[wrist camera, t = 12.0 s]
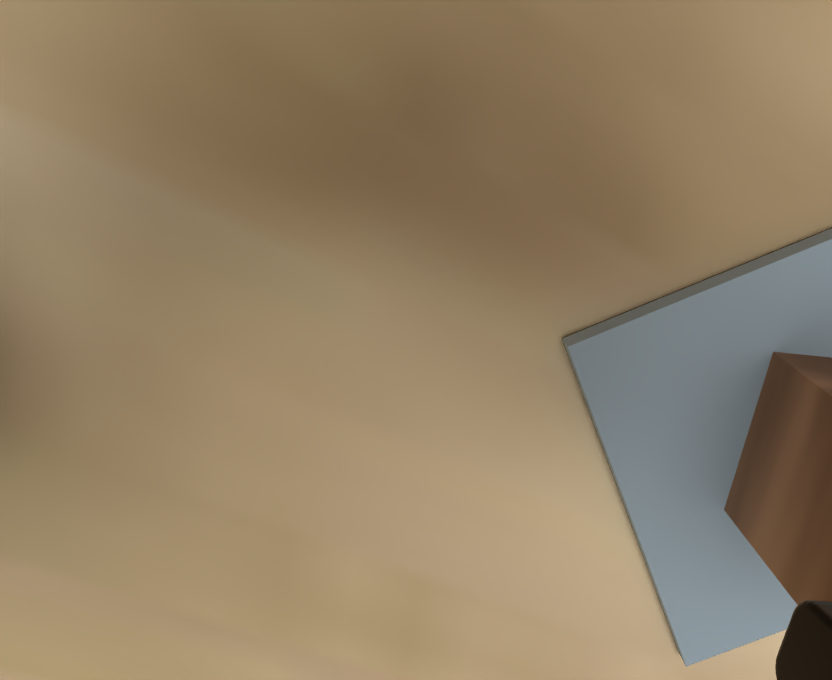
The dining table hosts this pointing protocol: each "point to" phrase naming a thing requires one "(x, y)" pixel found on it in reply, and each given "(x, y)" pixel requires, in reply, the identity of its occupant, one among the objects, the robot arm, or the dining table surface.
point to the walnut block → (790, 476)
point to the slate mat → (702, 430)
